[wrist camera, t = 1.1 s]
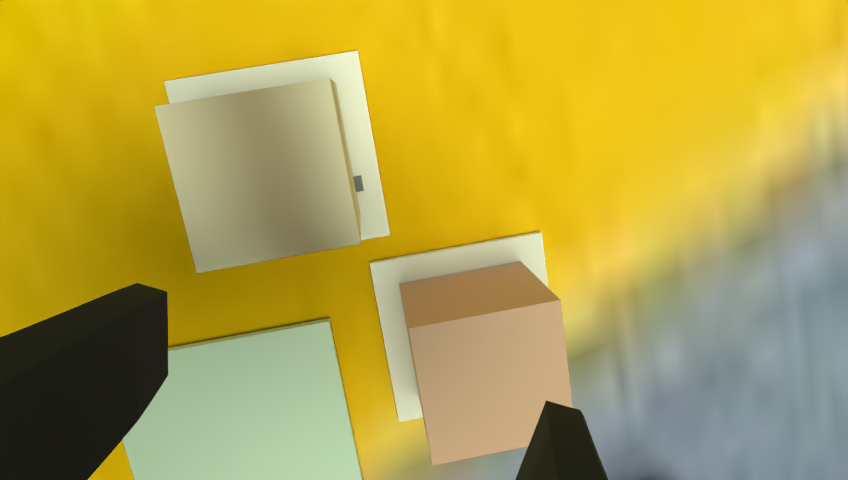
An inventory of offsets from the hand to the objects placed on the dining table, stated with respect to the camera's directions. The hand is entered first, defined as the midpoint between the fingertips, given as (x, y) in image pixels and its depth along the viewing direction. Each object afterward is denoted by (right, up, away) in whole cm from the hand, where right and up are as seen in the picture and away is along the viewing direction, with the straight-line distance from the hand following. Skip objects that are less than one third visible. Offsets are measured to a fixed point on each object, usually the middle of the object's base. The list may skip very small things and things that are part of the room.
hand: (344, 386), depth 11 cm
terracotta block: (+3, -1, +14) cm, 14 cm away
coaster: (-6, -6, +14) cm, 17 cm away
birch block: (-4, +6, +12) cm, 13 cm away
